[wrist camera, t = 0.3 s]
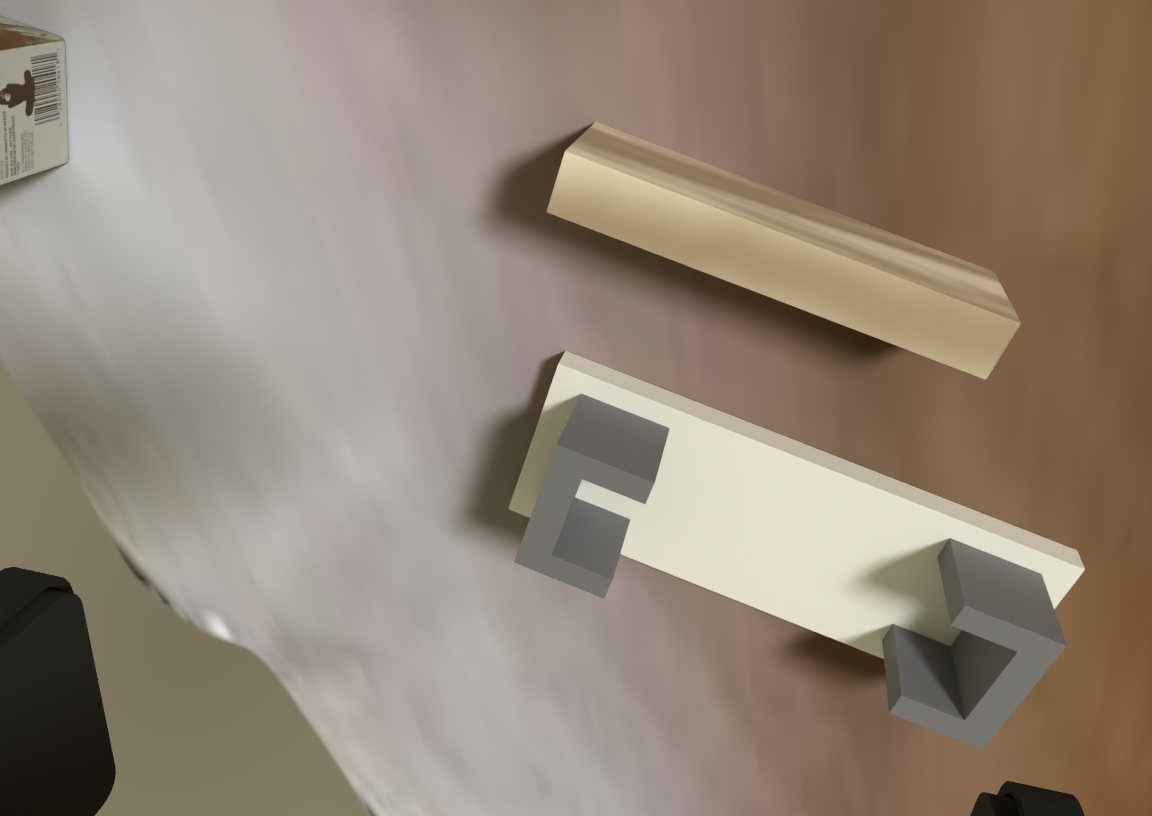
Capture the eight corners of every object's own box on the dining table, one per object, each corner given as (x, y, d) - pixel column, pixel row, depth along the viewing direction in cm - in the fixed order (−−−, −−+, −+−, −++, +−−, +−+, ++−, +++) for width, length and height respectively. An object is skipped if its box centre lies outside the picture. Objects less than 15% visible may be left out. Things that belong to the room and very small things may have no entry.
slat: (596, 120, 41) (564, 150, 35) (993, 270, 40) (1020, 323, 35) (579, 175, 42) (546, 212, 37) (963, 321, 41) (986, 379, 36)
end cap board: (565, 350, 46) (530, 411, 40) (1077, 550, 45) (1115, 642, 39) (516, 493, 50) (478, 566, 44) (979, 678, 49) (1001, 777, 43)
